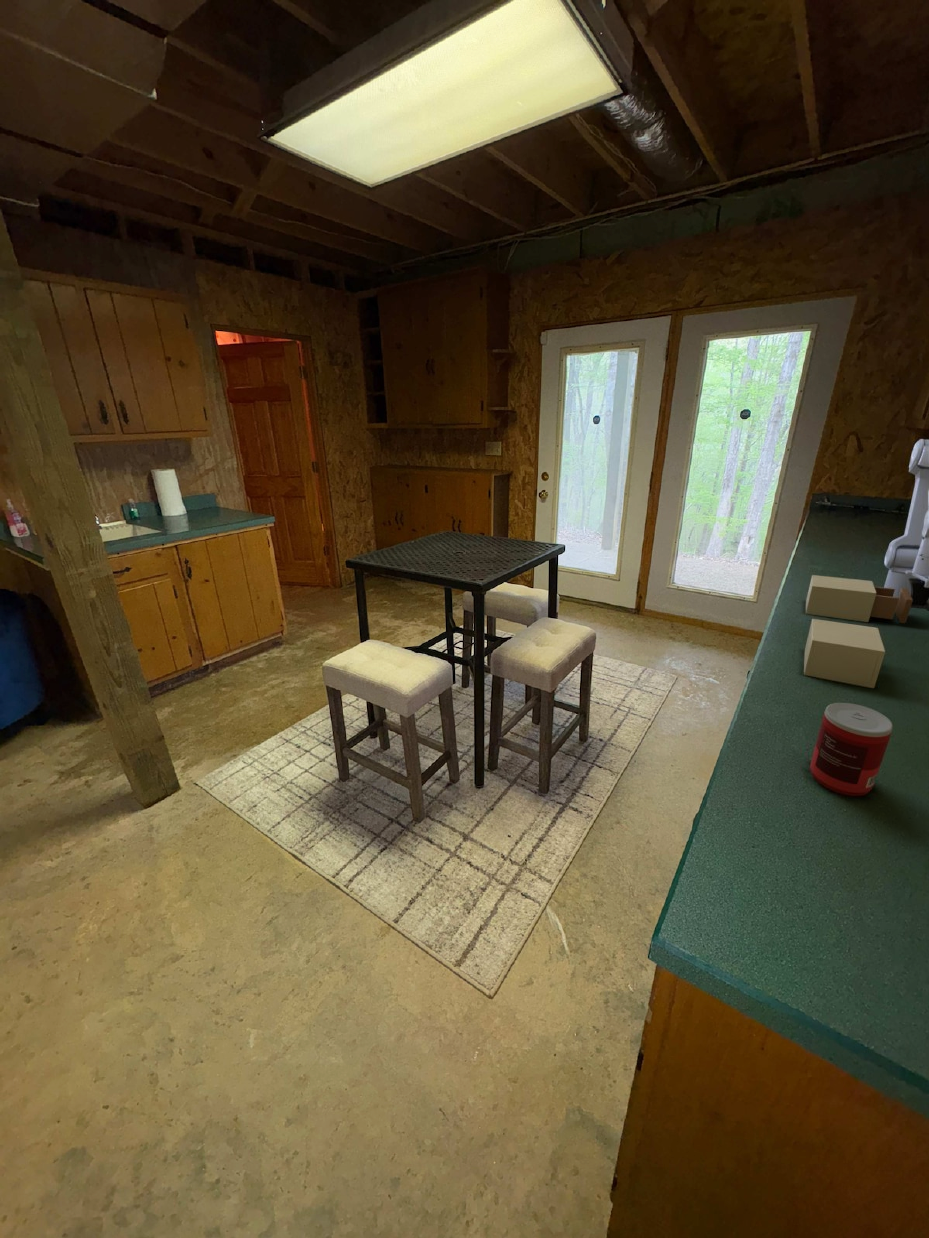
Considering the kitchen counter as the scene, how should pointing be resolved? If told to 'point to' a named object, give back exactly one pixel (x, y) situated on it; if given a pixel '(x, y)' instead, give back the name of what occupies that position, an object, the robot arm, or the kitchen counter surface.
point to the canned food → (850, 748)
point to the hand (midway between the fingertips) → (916, 607)
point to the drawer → (893, 604)
